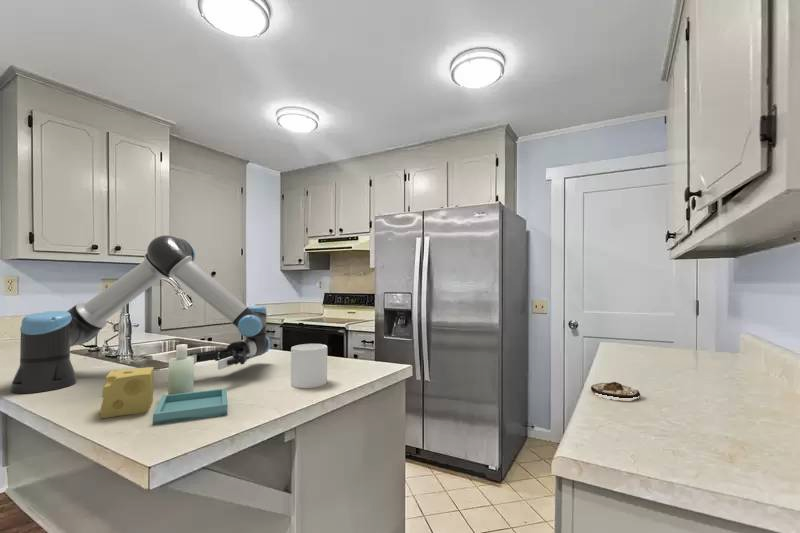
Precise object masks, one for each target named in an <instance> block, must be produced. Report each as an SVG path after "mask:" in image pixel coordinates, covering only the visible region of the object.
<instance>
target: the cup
mask: <svg viewBox="0 0 800 533" xmlns="http://www.w3.org/2000/svg"><path fill="white" fill-rule="evenodd" d="M290 351H291V352H290V386H292V387H294V388H297V389H298V388H299V389H314V388H319V387H323V386H325V385H326V384H327V383H328V345H326V344H324V343H323V344H322V343H303V344H297V345H294V346H291V348H290Z"/></svg>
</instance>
